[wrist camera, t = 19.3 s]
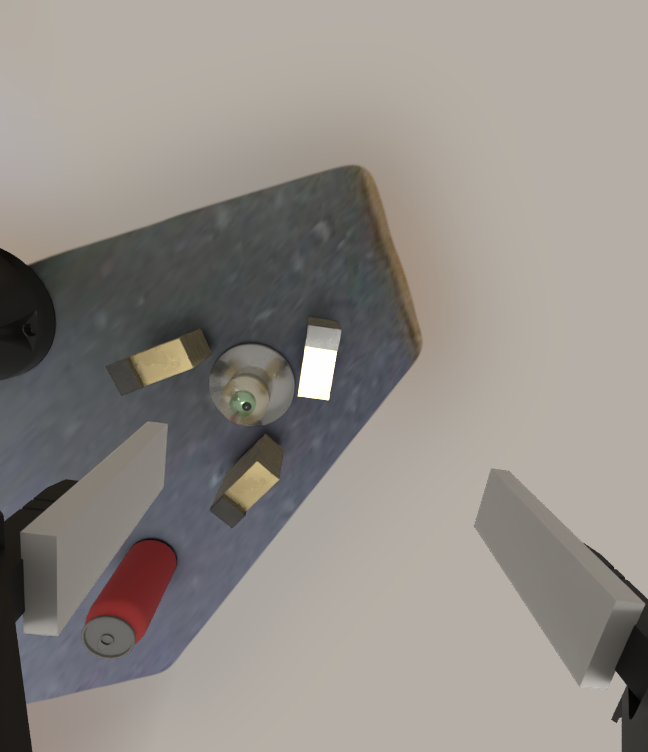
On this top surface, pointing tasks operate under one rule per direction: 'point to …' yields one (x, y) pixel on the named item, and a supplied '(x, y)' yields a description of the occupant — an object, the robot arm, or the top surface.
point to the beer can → (129, 600)
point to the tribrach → (252, 384)
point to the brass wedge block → (248, 481)
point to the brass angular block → (319, 358)
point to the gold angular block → (159, 362)
